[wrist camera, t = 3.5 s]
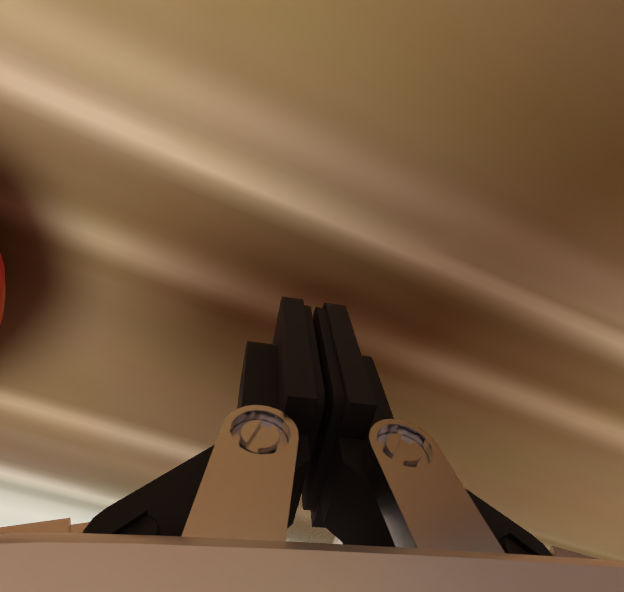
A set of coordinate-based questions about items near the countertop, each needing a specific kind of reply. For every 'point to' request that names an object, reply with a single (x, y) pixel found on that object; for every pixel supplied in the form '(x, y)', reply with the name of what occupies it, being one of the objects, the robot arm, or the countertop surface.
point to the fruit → (2, 288)
